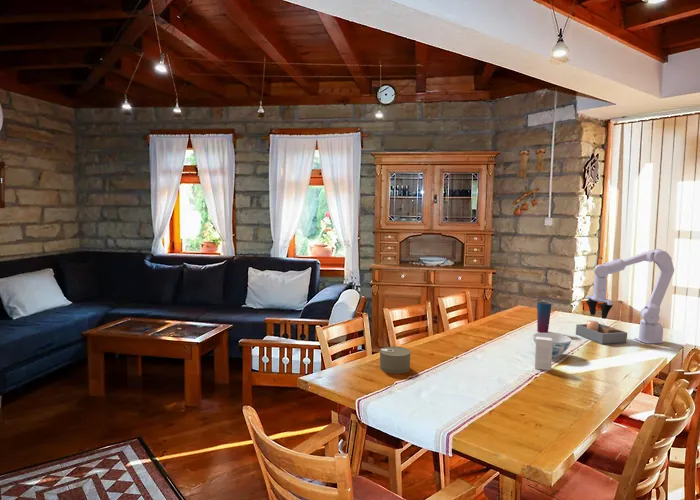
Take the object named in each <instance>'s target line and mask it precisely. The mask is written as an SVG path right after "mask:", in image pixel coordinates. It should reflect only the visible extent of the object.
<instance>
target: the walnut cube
mask: <svg viewBox="0 0 700 500" xmlns="http://www.w3.org/2000/svg"><path fill="white" fill-rule="evenodd" d="M616 329H617V328H615V329H614V327H612V328H611V326H609V327H601V333H603V334H604V333H618V330H619V329H618V330H616Z"/></svg>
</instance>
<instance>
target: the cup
mask: <svg viewBox="0 0 700 500" xmlns="http://www.w3.org/2000/svg"><path fill="white" fill-rule="evenodd" d="M551 313H552V302H550V301H544V300H543V301H542V300H540V301H536V323H537V325H536V327H537V330H536V331H537V333H549V327H550V319H551Z"/></svg>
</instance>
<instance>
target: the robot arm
mask: <svg viewBox="0 0 700 500" xmlns="http://www.w3.org/2000/svg"><path fill="white" fill-rule="evenodd" d="M642 262H649V263H654V264H656V265H657V267H658V269H659V270H660V272H659V275H658V277H657V279H656V282H655V284H654V286H653V289H652V292H651V295H650V297H649V300H648V301H647V303H645V306H644V307H643V308H642V309H641V310H640V311H639V313H640V317H641V319H640V321H639V332H638V333H639V334H638V337H634V340H636V341H639V342H642V343H644V344H648V345H649V344H663V343H665V342H664V341H663V338H664V328H663V325H662V324H661V323H660V322H659V321H660V312H661V305H662V302H663V301H664V297H665V295H666V293H667V290H668V288H669V285H670V283H671V280H672V278H673V275H674V273H675V267H674V265H673V260H672V257H671V255H670V254H669V252H667V251H666V250H663V249H661V248H660V249H659V248H655V249H652V250H648V251H647V250H646V251H643V252H641V253H639V254H638V253H637V254H636V255H633V256H629V257H628V258H625V259H621V258H613V260H611V261H608V262H605V261H604V262H602V264H597V265H595V267H594V269H593V273H594V277H593V278H594V279H593V290H592V291H593V294H592V295H591V294H590V295H586V299H587V300H586V301H585V302H586V304H587V306H588V309H589V314H590V315H591V316H595V315H596V311H597V305H598V303H599V305H600V308H601V319H604V320H605V319H607V318H608V315H609V312H610V310H611V309H612V308H613V300H611V299H608V298H607V289H608V286H607V285H608V276H609V275H612V274H614V273H618V272H621V271H624V270H625V269H626V267H627V266H631V265H634V264H638V263H642Z"/></svg>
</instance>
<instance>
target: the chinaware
mask: <svg viewBox="0 0 700 500" xmlns="http://www.w3.org/2000/svg"><path fill="white" fill-rule="evenodd" d="M532 336H533V337H532V338H533V342H534V344H535V343H536V337H546V338H552V341H553V342H552V358H559V357H560V355H562V354H564V353H565V352H567V350H568V349H569V348H570V345H571V343H572V339H571V337H569V336H566V335H563V334H560V333H554V332H548V333H540V332H537V333H536V332H535V333H534V334H532Z"/></svg>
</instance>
